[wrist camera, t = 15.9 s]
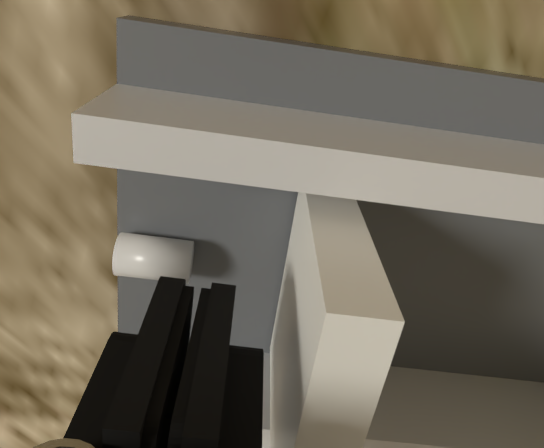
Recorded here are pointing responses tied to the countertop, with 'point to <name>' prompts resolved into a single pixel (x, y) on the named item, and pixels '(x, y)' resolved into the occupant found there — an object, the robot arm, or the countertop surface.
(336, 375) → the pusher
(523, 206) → the lane
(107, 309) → the countertop surface
